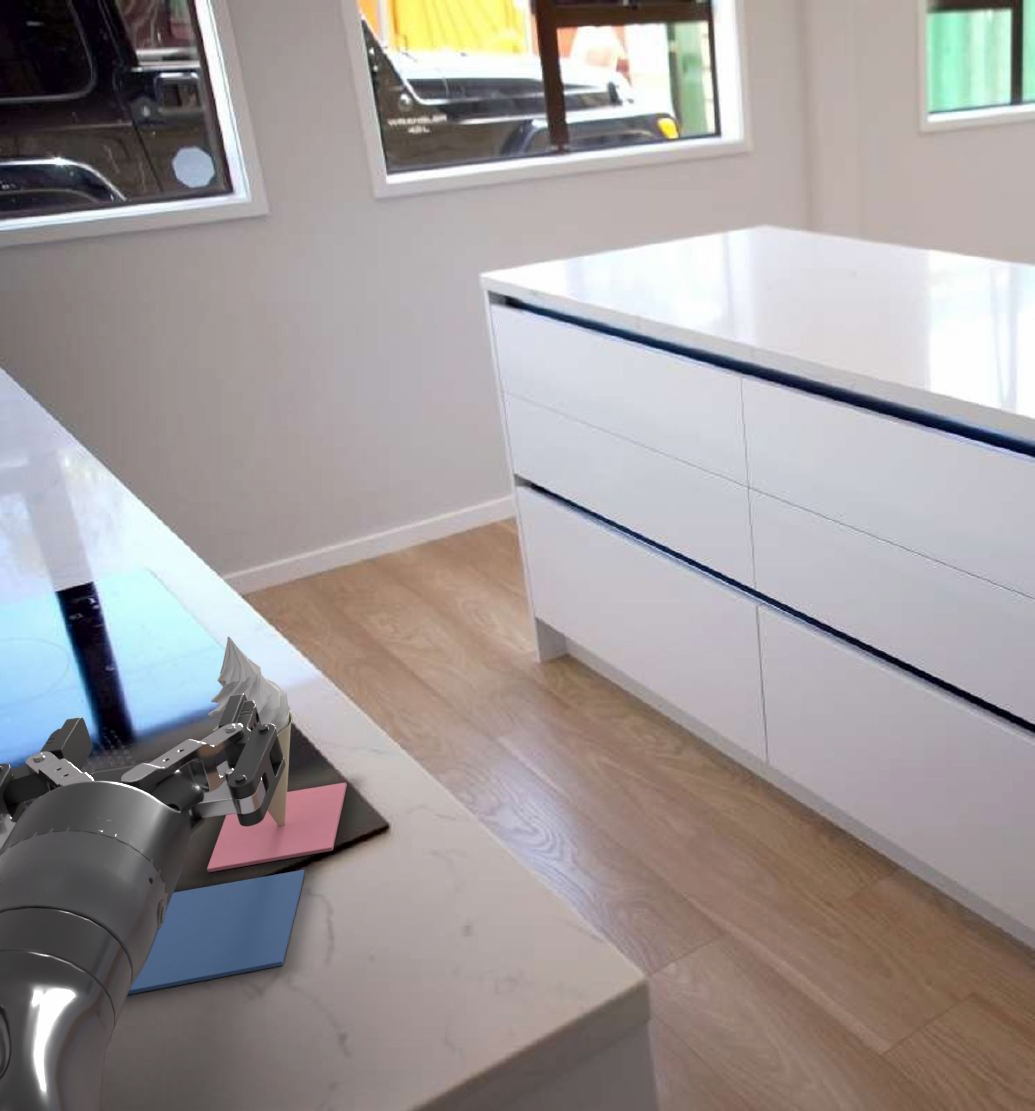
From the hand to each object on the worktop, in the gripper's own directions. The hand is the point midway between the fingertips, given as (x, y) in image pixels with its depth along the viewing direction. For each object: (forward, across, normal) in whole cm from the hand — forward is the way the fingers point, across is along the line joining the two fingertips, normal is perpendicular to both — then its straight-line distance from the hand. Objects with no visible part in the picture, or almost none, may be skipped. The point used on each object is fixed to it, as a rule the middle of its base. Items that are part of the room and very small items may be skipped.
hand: (162, 719), depth 71 cm
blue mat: (+1, +2, +16) cm, 16 cm away
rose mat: (+12, -1, +16) cm, 20 cm away
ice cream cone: (+12, -1, +16) cm, 20 cm away
